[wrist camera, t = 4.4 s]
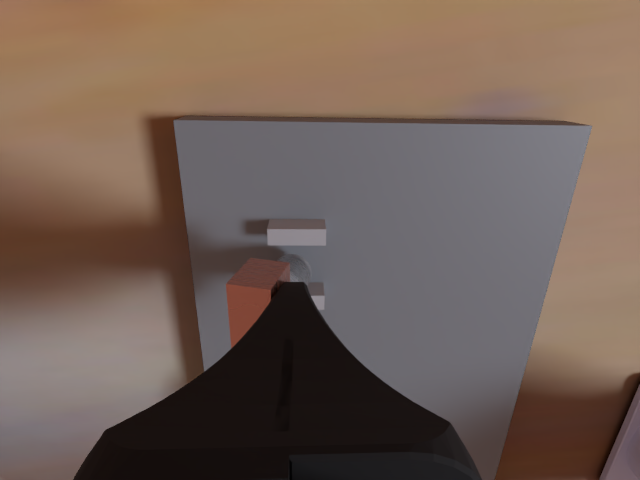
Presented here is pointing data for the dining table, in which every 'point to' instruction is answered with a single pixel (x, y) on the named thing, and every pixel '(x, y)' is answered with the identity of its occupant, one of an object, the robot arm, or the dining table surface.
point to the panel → (392, 243)
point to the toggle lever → (260, 289)
